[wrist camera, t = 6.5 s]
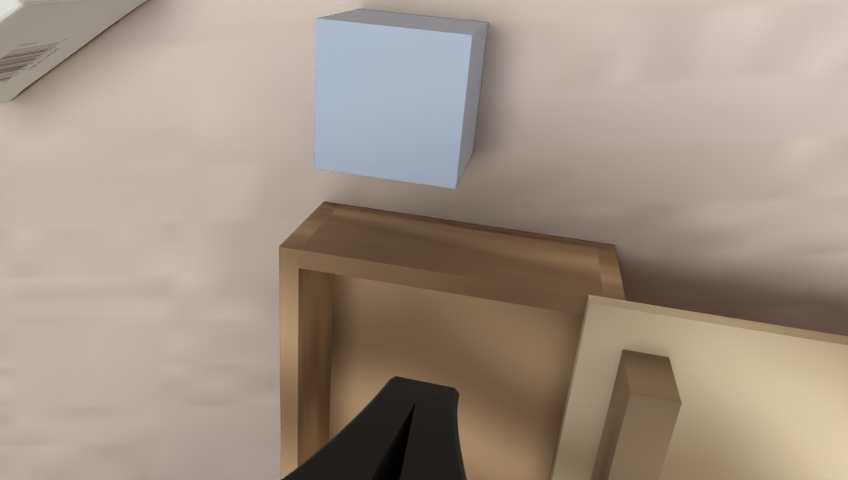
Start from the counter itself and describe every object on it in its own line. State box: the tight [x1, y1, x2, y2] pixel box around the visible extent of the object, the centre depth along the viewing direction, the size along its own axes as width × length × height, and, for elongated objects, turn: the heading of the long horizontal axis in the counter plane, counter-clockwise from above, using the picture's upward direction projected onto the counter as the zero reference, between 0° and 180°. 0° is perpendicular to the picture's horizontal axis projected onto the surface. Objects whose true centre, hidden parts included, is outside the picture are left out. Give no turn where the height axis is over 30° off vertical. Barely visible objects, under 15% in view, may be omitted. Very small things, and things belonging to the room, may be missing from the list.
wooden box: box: [279, 202, 626, 480], centre depth 23 cm, size 12×10×4 cm
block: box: [314, 9, 488, 189], centre depth 19 cm, size 4×4×4 cm
